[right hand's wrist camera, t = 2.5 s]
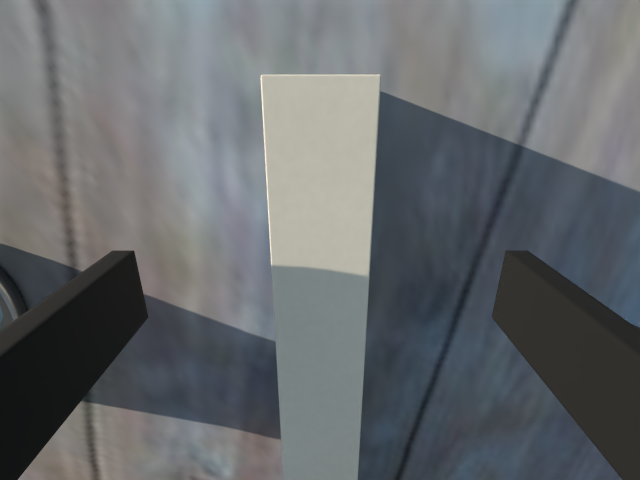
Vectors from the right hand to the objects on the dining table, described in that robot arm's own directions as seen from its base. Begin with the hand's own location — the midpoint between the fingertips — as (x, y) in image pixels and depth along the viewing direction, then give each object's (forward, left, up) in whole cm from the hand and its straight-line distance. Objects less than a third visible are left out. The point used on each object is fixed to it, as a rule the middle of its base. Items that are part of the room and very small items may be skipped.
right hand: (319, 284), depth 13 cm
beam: (+6, +19, -14) cm, 24 cm away
